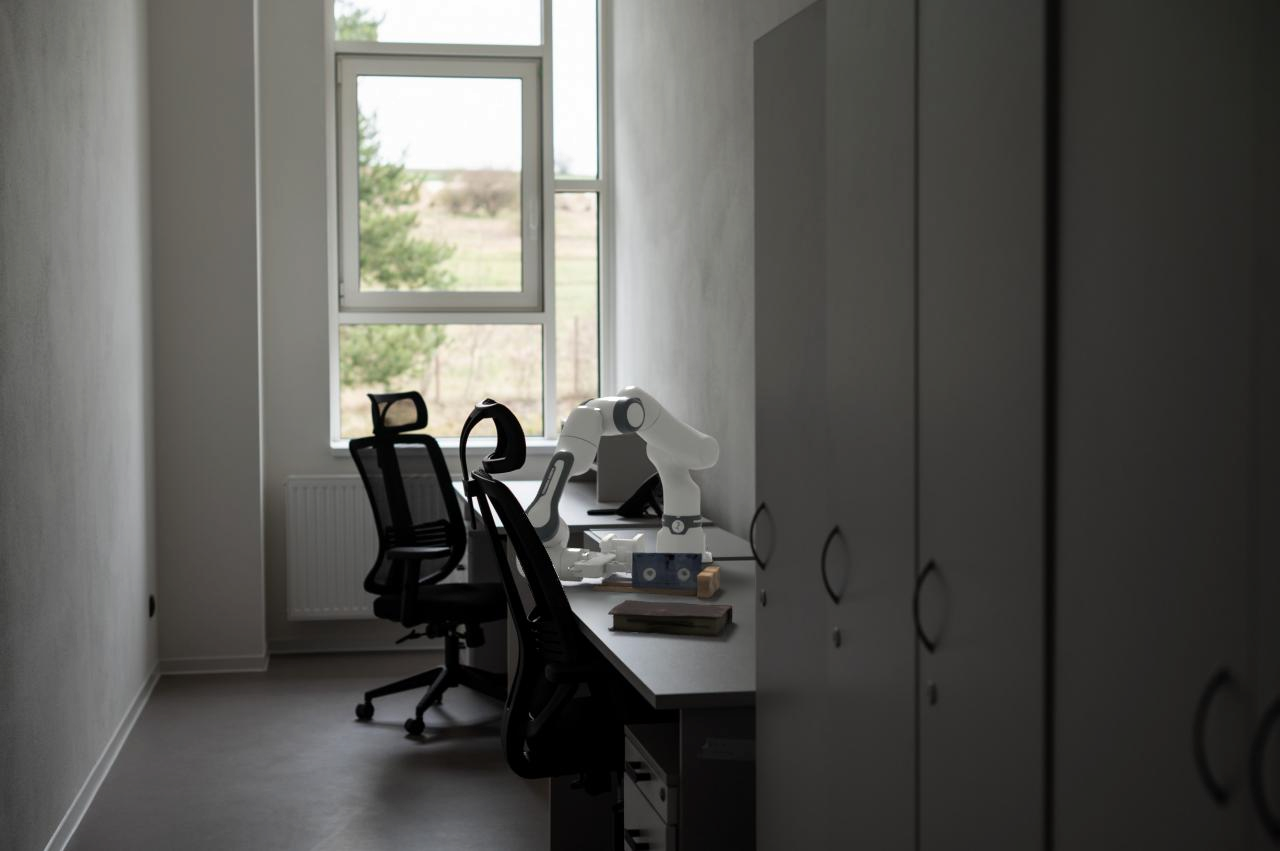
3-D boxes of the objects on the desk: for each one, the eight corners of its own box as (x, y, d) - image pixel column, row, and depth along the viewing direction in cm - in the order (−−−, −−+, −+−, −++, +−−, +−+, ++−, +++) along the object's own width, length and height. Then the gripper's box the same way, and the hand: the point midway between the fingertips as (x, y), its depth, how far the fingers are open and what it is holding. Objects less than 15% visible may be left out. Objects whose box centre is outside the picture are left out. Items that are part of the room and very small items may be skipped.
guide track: (606, 582, 342) (606, 561, 342) (719, 587, 335) (719, 566, 335) (590, 592, 327) (590, 570, 326) (709, 598, 320) (709, 576, 319)
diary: (626, 619, 296) (626, 598, 296) (732, 625, 290) (732, 603, 290) (606, 633, 278) (607, 611, 278) (719, 640, 272) (719, 617, 272)
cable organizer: (636, 582, 343) (637, 539, 343) (598, 581, 345) (598, 538, 344) (645, 573, 358) (645, 532, 358) (608, 572, 360) (608, 531, 359)
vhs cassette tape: (701, 590, 332) (701, 552, 332) (702, 592, 329) (702, 554, 329) (631, 589, 332) (631, 552, 332) (631, 591, 329) (631, 553, 329)
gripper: (564, 558, 325) (616, 560, 322) (585, 548, 345) (634, 550, 342) (564, 582, 325) (616, 585, 322) (585, 571, 345) (634, 573, 342)
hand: (626, 567), depth 332 cm, fingers closed
